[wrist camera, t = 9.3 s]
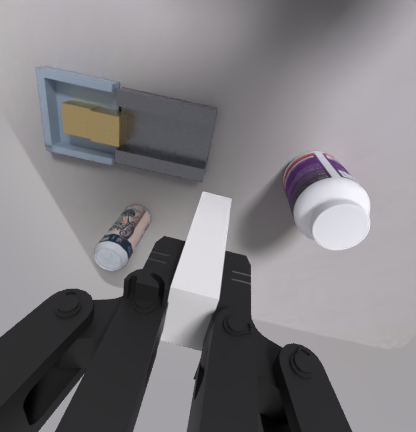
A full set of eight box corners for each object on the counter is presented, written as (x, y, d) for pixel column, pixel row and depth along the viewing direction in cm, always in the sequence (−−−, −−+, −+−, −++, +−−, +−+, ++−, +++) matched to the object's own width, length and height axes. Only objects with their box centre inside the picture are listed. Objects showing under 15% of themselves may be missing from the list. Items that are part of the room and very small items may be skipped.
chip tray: (47, 66, 37) (35, 67, 35) (119, 82, 37) (112, 84, 34) (56, 145, 42) (46, 150, 40) (118, 159, 42) (111, 165, 40)
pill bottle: (280, 200, 42) (294, 259, 30) (284, 149, 38) (302, 193, 26) (335, 200, 41) (373, 261, 29) (345, 148, 37) (394, 192, 25)
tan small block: (73, 99, 38) (60, 102, 36) (101, 105, 38) (90, 109, 36) (75, 128, 40) (63, 133, 38) (101, 134, 40) (91, 139, 38)
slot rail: (123, 87, 37) (115, 89, 35) (217, 108, 37) (215, 111, 35) (121, 157, 42) (115, 162, 40) (204, 175, 42) (201, 182, 40)
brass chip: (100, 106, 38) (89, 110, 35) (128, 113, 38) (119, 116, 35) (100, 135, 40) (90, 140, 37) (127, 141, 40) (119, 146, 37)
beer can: (144, 200, 45) (114, 242, 35) (156, 224, 47) (131, 270, 37) (119, 207, 47) (84, 249, 36) (132, 230, 49) (102, 276, 38)
